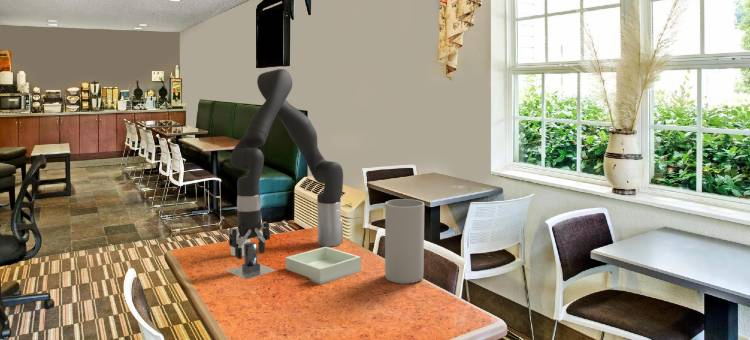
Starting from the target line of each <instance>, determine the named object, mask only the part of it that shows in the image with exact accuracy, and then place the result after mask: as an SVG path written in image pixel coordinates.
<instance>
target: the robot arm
mask: <svg viewBox="0 0 750 340" xmlns="http://www.w3.org/2000/svg"><path fill="white" fill-rule="evenodd" d="M256 82H257V83H256V84H257V87H258V90H259V92H260V93H261V95H262V98H264V100H265V101H264V103H263V104H262V105H260V108H258V110H257V111H256V112H255V113H254V114H253V116H252V117H251V119H250V121H249V124H248V126H247V128H246V132H245V134H244V135H243V136H242V137H241V139H240V140H239V141H238V142H237V144H236V145H235V146H234V148H233V149H232V152H231V154H230V163H231V165H232V167H233V168H235V169H239V170H248V173H247V175H244V176H239V178H238V179H237V183H236V187H237V188H236V189H237V191H236V192H237V197H236V206H237V207H236V211H237V213H236V214H237V216H236V217H237V223H238V226H237V227H238V228H236V227H231V228H229V229H228V230H229V231H228V246H229V247H230V246H232V247H234V248H235V256H234V257H235V258H236V259H238V260H242V258H243V256H242V248H241V246H242V244H243V243H244V242H245V241H246V239H250V240H251V239H256V240H257V241H258V242H257V252H258V253H259V254H261V255H262V254H264V253H265V250H266V248H265V247H266V245H265V244H266V241H268V240H270V239H271V234H270V223H269V222H267V221H262V213H261V211H262V210H261V207H262V206H261V197H260V179H261V175H262V171H263V168H264V162H265V155H264V153H263V152H262V150H261V149H259V148H260V147H263V146H264V145H265V143H266V141H267V139H268V136H269V133H270V130H271V127H272V125H273V123H274V121H275V118H276V117H278V119H279V120H280V122H281V123H282V124H283V126H284V127H285V129H286V131H287V133H288V134H289V136H290V138H291V140H292V142H294V144H295V145H296V147H297V149H298V150H299V152H300V153H301V155H302V157H303V159H304V160H305V162H306V165H307V167H308V169H309V171H310V173H311V175H312V177H313V178H314V180H315V181H316V182H317V183H319V184H323V185H324V186H323V187H324V188H323V191H322V192H320V193H318V194H317V197H316V198H317V199H316V201H317V202H316V203H317V206H316V207H317V211H316V212H317V244H318V245H319V246H321V247H336V246H337V247H338V246H340V245H341V244H342V243H344V233H343V231H344V230H343V228H344V227H343V222H344V221H343V219H342V216H341V215H342V213H341V211H342V208H341V205H342V203H341V198H342V195H343V190H344V189H343V186H344V171H343V166H342V165H341V164H340V163H339V162H336V161H330V160H326V159H325V157H324V156H323V155H322V153H321V152H320V150H319V147H318V134H317V131H316V129H315V127H314V125H313V124H312V122H311V120H310V119H309V118H308V116H307V115H305V114H304V113H303V112H302V111H301V110H299V109H298V108H297V107H295V106H293V105H292V104H291V103H290V102H288V100H287V98H288V96H289V94H290V93H291V91H292V88H293V78H292V75H291V74H290V72H289V71H288V70H287V69H283V68H278V69H273V70H269V71H266V72H262V73H261V74H259V75H258V76H257V81H256ZM233 228H235V229H233ZM261 230H262V233H261ZM238 232H239V235H238V237H237V234H238ZM242 237H243V238H242ZM236 238H237V240H236Z"/></svg>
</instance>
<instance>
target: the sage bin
mask: <svg viewBox="0 0 750 340" xmlns="http://www.w3.org/2000/svg"><path fill="white" fill-rule="evenodd" d="M284 261H285V270H287V271H291V272H293V273H295V274H298V275H301V276H303V277H306V280H307V281H310V282H312V283H316V284H317V285H320V286H321V285H324V284H327V283H330V282H333V281H336V280H340V279H342V278H345V277H347V276H350V275H353V274H357V273H359V272H361V271H362V256H359V255H356V254H352V253H350V252H345V251H342V250H338V249H336V248H332V247H330V246H321V247H318V248H315V249H312V250H308V251H305V252H301V253H297V254H293V255H289V256H287V257H286V256H285V259H284Z"/></svg>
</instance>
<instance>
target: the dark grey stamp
mask: <svg viewBox="0 0 750 340" xmlns="http://www.w3.org/2000/svg"><path fill="white" fill-rule="evenodd" d="M243 258H244V263H242V264H241V267H242V271H245V272H247V273H253V272H256V271H260V264H261V263H259V262H258V242H254V241H253V242H252V241H250V242H248V243H245V244H244V256H243ZM258 263H259V264H258Z"/></svg>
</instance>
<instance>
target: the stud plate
mask: <svg viewBox="0 0 750 340" xmlns="http://www.w3.org/2000/svg"><path fill="white" fill-rule="evenodd" d="M257 263H258V264H260V271H256V272H253V273H247V272H245V271H242V266H238V267H234V268H231V269H227V270H226V272H228V273H230V274H233V275H234V276H237V277H239V278H242V279H244V280H249V279H252V278H256V277H259V276H262V275H265V274H266V275H267V274H269V273H272V272H276V271H277V270H276V269H275V268H271V267H270V266H269V267H268V266H266V265H264V264H261V263H259V262H257Z"/></svg>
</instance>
